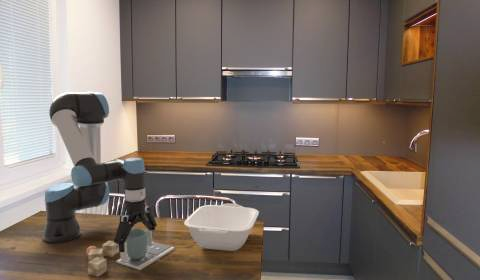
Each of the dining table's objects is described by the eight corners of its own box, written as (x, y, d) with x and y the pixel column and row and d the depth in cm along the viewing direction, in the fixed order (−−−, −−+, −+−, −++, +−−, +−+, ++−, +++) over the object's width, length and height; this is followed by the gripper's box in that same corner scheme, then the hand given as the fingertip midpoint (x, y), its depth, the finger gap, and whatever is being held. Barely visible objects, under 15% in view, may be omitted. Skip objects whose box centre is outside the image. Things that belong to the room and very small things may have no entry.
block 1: (88, 266, 135) (88, 254, 134) (91, 260, 139) (90, 249, 138) (101, 264, 135) (100, 253, 135) (103, 259, 140) (102, 248, 139)
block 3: (102, 255, 143) (102, 245, 142) (109, 250, 147) (108, 240, 147) (112, 256, 142) (112, 246, 141) (118, 252, 146) (118, 241, 146)
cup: (141, 263, 134) (141, 237, 133) (122, 261, 135) (121, 235, 134) (151, 254, 141) (150, 229, 140) (133, 252, 143) (132, 228, 142)
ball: (84, 256, 142) (83, 247, 141) (92, 252, 145) (92, 243, 145) (91, 258, 140) (90, 249, 139) (99, 254, 143) (99, 245, 143)
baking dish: (203, 226, 174) (203, 201, 172) (261, 231, 168) (261, 205, 166) (177, 258, 141) (176, 227, 139) (248, 265, 135) (248, 233, 133)
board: (116, 262, 137) (116, 259, 137) (152, 243, 154) (152, 240, 154) (140, 270, 131) (139, 266, 131) (174, 249, 149) (174, 246, 149)
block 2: (96, 257, 132) (97, 268, 133) (87, 262, 128) (88, 274, 128) (106, 259, 130) (107, 270, 131) (97, 264, 126) (98, 276, 127)
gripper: (117, 210, 122) (119, 268, 125) (164, 192, 144) (166, 242, 147) (101, 206, 126) (104, 263, 129) (150, 189, 148) (152, 238, 151)
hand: (137, 252), depth 138 cm, fingers open, 13 cm apart
